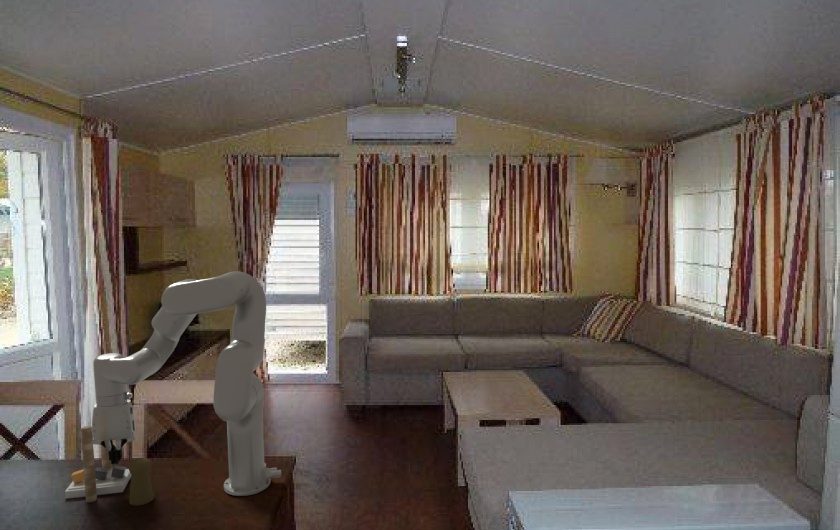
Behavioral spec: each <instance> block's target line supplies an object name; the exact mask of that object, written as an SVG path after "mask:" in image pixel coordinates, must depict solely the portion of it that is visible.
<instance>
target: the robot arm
mask: <svg viewBox="0 0 840 530" xmlns="http://www.w3.org/2000/svg"><path fill="white" fill-rule="evenodd" d="M160 302H161V306H160V309H159V310H158V311H157V313H156V314H155V315H154V316H153V318H152V320H151V326H152V328H153V333H152V335H151V336H150V337H149V339H148V340H147V342H146V343H145V345H143V347H142V348H141V349H140V350H139V351H137V352H135V353H133V354H131V355H128V356H126V357H124V355H123V354H121V353H118V352H117V353H113V352H110V353H104V354H100V355H98V356H96V357H95V358H94V359H93V363H92V364H93V375H94V376H93V378H94V392H95V404H94V405H93V409H92V418H91V426H92V435H93V445H98V446H99V445H100V446H101V445H102V446H103V447H105V448H106V450H107V451H108V452H109V461H110V460H111V465H118V464H119V463H120V461H121V460H122V459H123V450H122V449H123V446H125V444H126V443H129V442H130V443H131V442H132V441H133V442H134V441H135V440H136V437H137V436H136V433H135V431H136V420H135V414H134V413H135V412H134V408H133V404H132V402H131V400H130V399H132V398H133V393H132V392H128V389H127V385H128V386H131V385H137V384H139V383H141V382H143V381H144V380H145V379H147V378H148V377H150V376H152V375H154V374H155V373H156V372H158V371H159V370H160V369H161V368H162V367H163V365H164V364H165V363H166V362H167V360H168V359H169V358H170V356H171V355H172V354H173V352H174V351H175V348H176V347H177V345H178V343H179V341H180V338H181V336H182V335H183V333H184V332H185V330H186V329H188V326H189V325H190V324H191V322H193V320H194V318H195V317H196V316H197V315H198V314H204V313H210V312H211V313H212V312H217V311H222V310H226V309H229V308H231V307H233V306H235V309H234V315H233V319H232V330H231V338H230V343H229V344H228V345H227V346H225V347H224V348H223V349H222V350H221V352H220V353H219V355H218V356H217V360H216V364H215V374H214V383H213V384H214V387H213V398H212V399H213V409H214V412H215V414H216V415H217V417H219V419H221V420H222V421H224V422H226V429H227V431H226V432H227V433H226V434H227V435H226V436H227V455H228V460H227V461H228V478H227V479H225V481H224V483H223V490H224V492H225V493H226V494H229V495H230V496H231V495H232V496H236V497H246V496H252V495H256V494H260V492H263V491H264V490H266V489H267V488H268V487H269V486H270V485H271V482H272V481H271V480H272V479H273V478H277V479H278V478H282V470H281V469H278V467H271V468H269V467H267V463H266V462H265V446H264V445H265V444H264V443H265V442H264V403H265V402H264V401H265V390H264V385H263V384H264V383H263V382H262V380H261V379H260V378H259V377H258V376H257V375H256V374H254V372H255V371H256V370H257V369H258V367H260V366H261V364H262V362H263V359H264V348H265V334H266V317H267V298H266V294H265V291H264V288H263V286H262V285H261V284H260V282H259V281H258V280H257V279H256V278H255V277H253V276H252V275H251V274H249V273H246V272H244V271H238V270H237V271H236V270H235V271H230V272H227V273H224V274H221V275H218V276H214V277H211V278H210V277H209V278H205V279H199V280H198V279H195V278H187V279H184V280H180V281H177V282H174V283H173V284H170V285H169V286H166V288H165V289H164V291H163V293H162V294H161V301H160ZM115 440H116V444H114V441H115Z"/></svg>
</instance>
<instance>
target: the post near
mask: <svg viewBox="0 0 840 530" xmlns="http://www.w3.org/2000/svg"><path fill="white" fill-rule="evenodd" d="M80 438H81V439H80V441H81V454H82V466H83V467H82V468H83V469H84V483H85V496H84V497H85V502H86V503H88V504H89V503H93V502H96V501H97V500H98V495H97V490H96V476H95V470H96V465H95V451H94V444H93V435H92V425H86V426H83V427H81V428H80Z"/></svg>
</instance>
